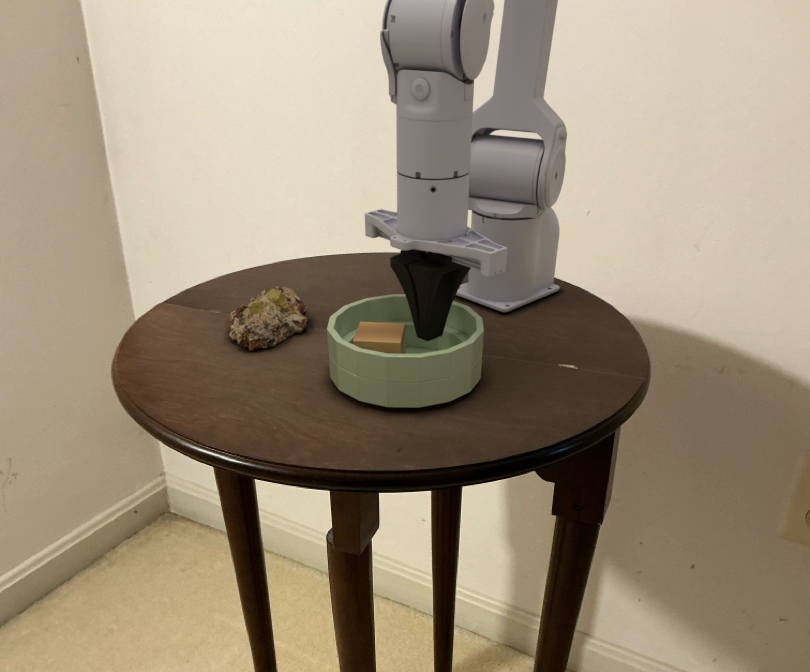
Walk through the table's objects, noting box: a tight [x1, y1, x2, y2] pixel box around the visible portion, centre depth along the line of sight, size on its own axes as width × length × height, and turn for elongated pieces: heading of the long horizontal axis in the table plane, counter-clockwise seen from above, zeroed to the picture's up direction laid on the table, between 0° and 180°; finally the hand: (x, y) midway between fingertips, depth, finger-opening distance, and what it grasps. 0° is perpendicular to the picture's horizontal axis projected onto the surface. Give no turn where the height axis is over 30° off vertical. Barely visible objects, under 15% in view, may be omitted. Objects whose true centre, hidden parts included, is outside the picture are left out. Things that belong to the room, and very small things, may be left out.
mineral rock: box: [228, 286, 308, 352], centre depth 76 cm, size 11×4×8 cm
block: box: [353, 322, 406, 354], centre depth 66 cm, size 4×4×4 cm
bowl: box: [326, 293, 485, 409], centre depth 67 cm, size 13×13×5 cm
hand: (429, 336), depth 68 cm, fingers closed
